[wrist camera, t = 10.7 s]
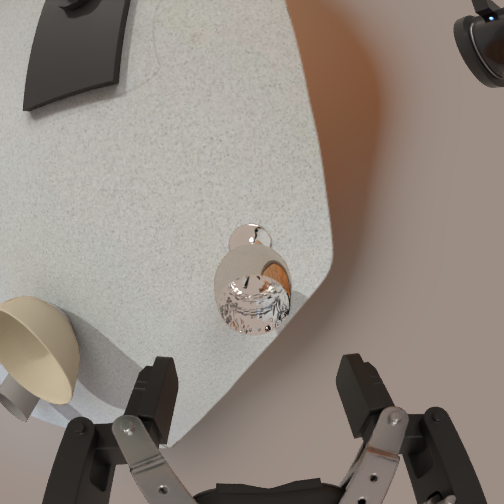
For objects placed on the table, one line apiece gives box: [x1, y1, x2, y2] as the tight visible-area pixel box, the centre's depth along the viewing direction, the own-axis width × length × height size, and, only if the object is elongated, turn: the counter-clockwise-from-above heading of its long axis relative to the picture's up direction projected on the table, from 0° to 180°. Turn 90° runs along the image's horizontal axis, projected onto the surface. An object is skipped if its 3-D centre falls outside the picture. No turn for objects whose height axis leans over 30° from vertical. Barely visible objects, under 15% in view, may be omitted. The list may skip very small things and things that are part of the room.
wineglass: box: [214, 224, 292, 335], centre depth 23 cm, size 6×6×12 cm
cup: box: [0, 374, 40, 422], centre depth 33 cm, size 8×8×10 cm
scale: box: [23, 0, 130, 111], centre depth 17 cm, size 19×14×3 cm
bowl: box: [0, 296, 80, 405], centre depth 27 cm, size 16×16×10 cm
